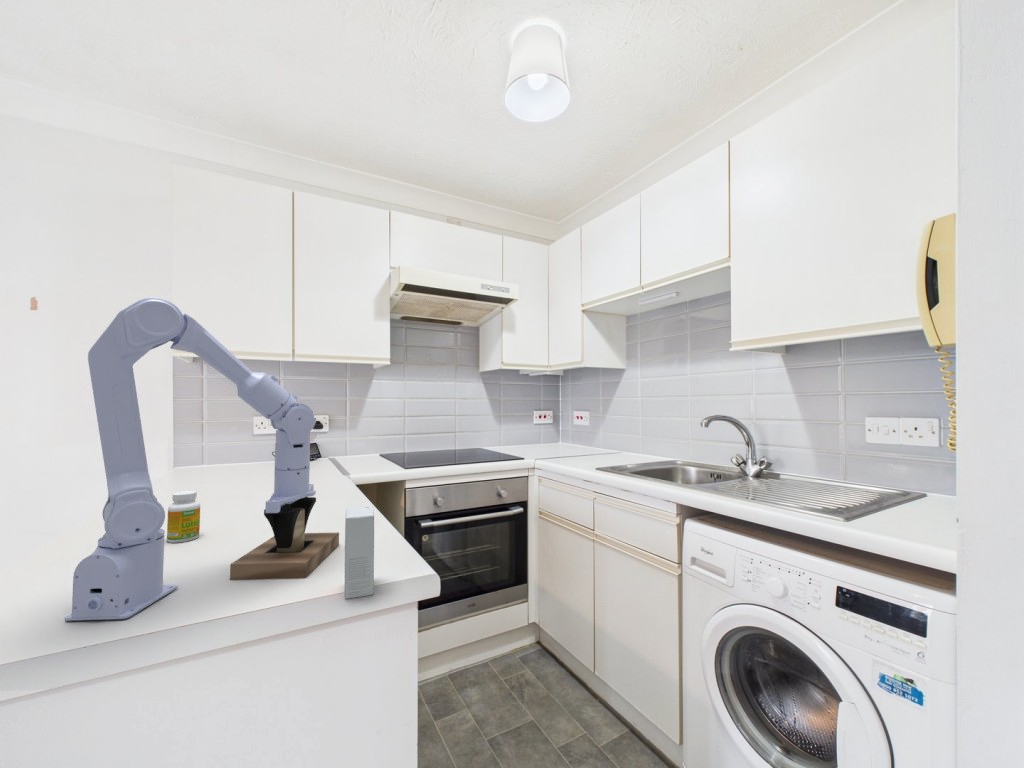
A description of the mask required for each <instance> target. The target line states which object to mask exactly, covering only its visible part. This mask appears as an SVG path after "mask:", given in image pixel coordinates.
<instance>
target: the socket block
mask: <svg viewBox="0 0 1024 768" xmlns="http://www.w3.org/2000/svg"><path fill="white" fill-rule="evenodd" d="M339 545H340V532H305V533H304V549H303V550H302V551H301V552H280V553H277V544H276V541H275V537H274V535H273V536H272V537H271V538H269V539H267V540H266V541H264V542H263V543H261V544H260V545H258V546H256V547H255V548H253V549H252V550H249V552H247V553H246V554H243V556H241V557H239V558H237V559H236V560H234V561H233V562H231V563H230V567H229V580H233V581H236V580H237V581H239V580H240V581H241V580H267V579H268V580H271V579H273V580H275V579H306V578H308V576H309V575H310V574H311V573H312V572H313V571H314V570H315V569H317V567H319V565H320V564H322V562H323V561H324V560H326V558H328V557H329V555H330V554H332V552H333V551H335V550H336V549H337V547H339Z"/></svg>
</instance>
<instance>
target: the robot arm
mask: <svg viewBox="0 0 1024 768" xmlns="http://www.w3.org/2000/svg"><path fill="white" fill-rule="evenodd" d="M169 342H171V343H172V344H171V346H170V347H169V348H170V349H171V350H176V351H182V352H186V353H187V352H188V353H192V354H194V355H195V356H197V357H199V359H201V360H203V361H204V362H205V363H206V364H207V365H209V366H211V367H212V368H213V369H214V370H216V371H218V372H219V373H220V374H221V375H223V376H224V377H226V379H228V380H229V381H231V382H232V383H233V384H235V385H236V387H237V388H236V389H237V397H239V399H241V400H243V402H245V403H246V404H247V405H249V406H250V407H252V409H254V410H255V411H256V412H258V413H259V414H260V415H261V416H263V417H264V418H265V419H266V420H270V425H271V427H272V428H273V429H275V444H274V447H275V448H274V473H273V474H274V481H273V483H274V485H273V486H274V487H273V492H272V494H271V497H270V498H269V499H268V500H267V501H265V509H264V510H263V515H264V517H265V519H266V520H267V522H268V523H269V525H270V527H271V530H272V533H273V536H274V537H275V541H276V544H277V548H290V547H291V545H292V541H293V535H294V528H295V523H296V520H297V517H298V515H299V513H300V511H301V508H304V509H305V525H304V533H306V532H305V531H306V528H307V524H308V520H309V518H310V515H311V512H312V510H313V508H314V506H315V504H316V502H317V497H314V496H315V495H316V491H317V490H314V483H310V470H311V469H310V466H311V465H310V464H311V431H312V430H313V429H314V428H315V425H316V423H317V418H316V417H315V414H313V413H314V411H313V410H312V409H311V407H310V406H308V405H307V404H305V403H299V402H297V400H298V399H299V397H298V396H297V395H296V394H294V393H293V394H290V392H289V391H287V390H286V389H285V388H284V387H283V386H281V385H280V384H279V383H278V382H277V381H278V380H279V379H278V377H277V376H275V375H274V374H269V375H268V374H267V372H262V371H261V372H256V371H255V372H253V371H252V370H251V369H250V368H248V366H247V365H246V364H245V363H243V362H242V361H241V360H240V359H239V358H238V357H237V356H235V354H233V352H231V351H230V350H229V349H228V348H227V347H226V346H225V345H224V344H222V343H221V342H220V341H219V340H218V339H217V338H216V337H215V336H214V335H212V334H211V332H210V331H208V330H207V329H206V328H204V327H203V325H201V324H200V323H199V322H198V321H197V320H195V318H193V317H192V316H191V315H189V314H187V313H182V310H180V308H179V307H178V306H176V304H174V303H173V302H171V301H170V300H166V299H164V298H161V297H146V298H142V299H139V300H137V301H135V302H133V303H132V304H130V305H128V306H127V307H124V309H121V310H120V311H119V312H118V313H117V314H116V315H115V317H114V318H113V320H112V321H111V322H110V324H109V325H108V326H107V327H106V329H105V330H104V331H103V332H102V334H101V335H100V336H99V337H98V338H97V340H96V341H95V343H94V344H93V345H92V346H91V348H89V350H88V354H87V363H88V367H89V374H90V381H91V382H90V383H91V388H92V395H93V401H94V407H95V413H96V419H97V421H96V422H97V425H98V426H97V427H98V433H99V438H100V446H101V452H102V453H101V454H102V458H103V459H102V460H103V463H104V464H103V465H104V472H105V477H106V478H105V479H106V484H107V485H106V486H107V492H108V493H107V494H108V495H107V496H108V497H107V500H106V501H105V504H104V506H103V509H102V520H103V521H104V531H105V533H104V534H103V535H102V537H100V538H99V539H98V540H97V547H96V548H95V550H94V551H93V552H92V553H91V554H90V555H88V556H86V557H84V558H83V559H81V561H79V563H78V564H77V566H76V567H75V569H74V572H73V577H72V595H71V596H72V599H71V600H72V601H71V613H69V614H67V615H66V616H65V617H64V621H66V622H67V621H68V622H69V621H70V622H71V621H95V620H97V621H100V620H102V621H103V620H104V621H105V620H126V619H128V618H130V617H132V616H134V615H135V614H137V613H139V612H140V611H142V610H143V609H145V608H146V607H148V606H150V605H152V604H153V603H155V602H156V601H158V600H160V599H162V598H164V597H165V596H167V595H168V594H170V593H171V592H173V591H174V590H177V589H178V584H164V559H165V529H162V527H163V526H164V525H163V524H165V520H166V511H165V508H164V507H163V505H162V504H161V502H159V501H158V498H157V497H156V495H155V494H154V491H153V485H152V481H151V477H150V474H149V467H148V461H147V460H148V459H147V454H146V453H147V452H146V447H145V440H144V435H143V427H142V420H141V413H140V407H139V406H140V405H139V400H138V393H137V387H136V380H135V374H134V368H133V367H134V364H136V363H137V362H138V361H139V360H140V359H141V358H142V357H144V356H145V355H146V354H147V353H149V352H150V351H151V350H154V349H156V348H158V347H161V346H163V345H165V344H167V343H169Z"/></svg>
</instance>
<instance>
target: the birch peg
mask: <svg viewBox="0 0 1024 768" xmlns="http://www.w3.org/2000/svg"><path fill="white" fill-rule="evenodd" d="M304 525H305V509H304V508H301V511H300V513H299V515H298V517H297V520H296V523H295V528H294V535H293V541H292V545H291V547H290V548H277V553H280V552H301V551H302V550H303V549H304Z"/></svg>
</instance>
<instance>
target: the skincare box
mask: <svg viewBox="0 0 1024 768" xmlns="http://www.w3.org/2000/svg"><path fill="white" fill-rule="evenodd" d="M374 511H375V510H374V507H373V506H371V505H370V506H359V507H348V508H346V509H345V520H344V521H345V525H344V526H345V527H344V599H345V600H350V599H355V598H360V597H368V596H372V595H374V594H375V592H374V590H375V514H374V513H375V512H374Z"/></svg>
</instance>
